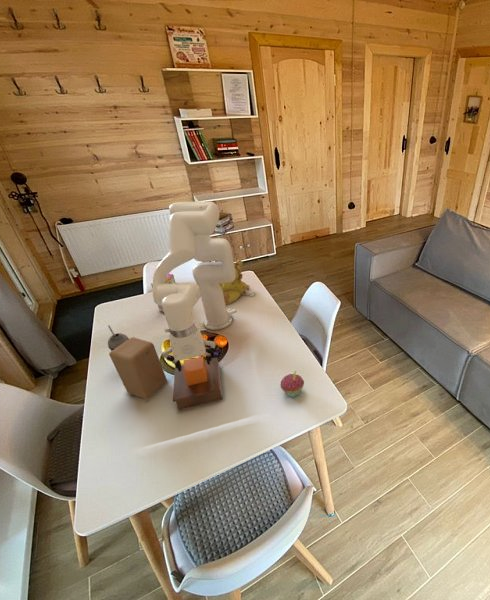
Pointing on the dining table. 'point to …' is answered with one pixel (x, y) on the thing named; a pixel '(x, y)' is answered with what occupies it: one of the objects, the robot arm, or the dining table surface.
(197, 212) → the robot arm
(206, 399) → the chest
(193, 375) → the orange cube
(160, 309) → the candy bar box
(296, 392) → the cupcake
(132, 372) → the wooden block
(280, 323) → the dining table surface
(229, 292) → the giraffe plush
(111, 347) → the beverage cup
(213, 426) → the dining table surface
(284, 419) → the dining table surface
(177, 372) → the lid
